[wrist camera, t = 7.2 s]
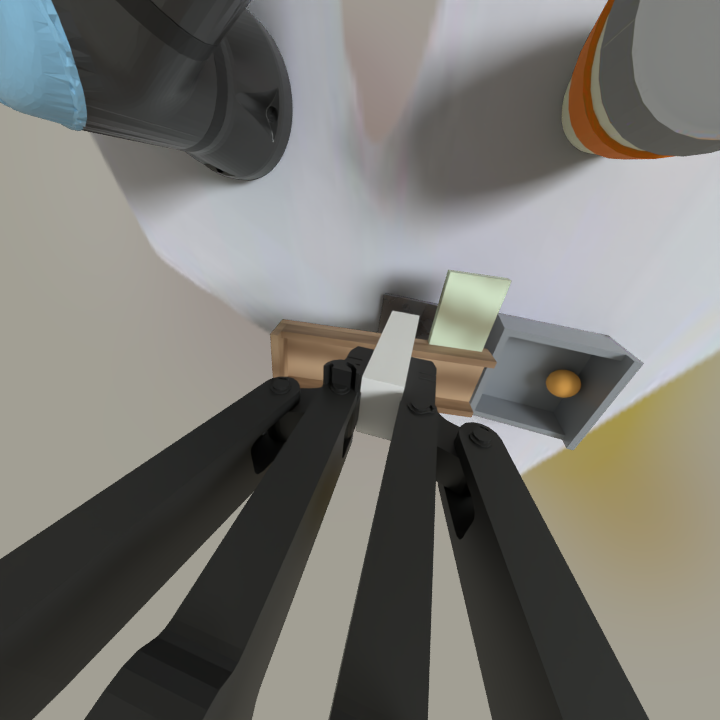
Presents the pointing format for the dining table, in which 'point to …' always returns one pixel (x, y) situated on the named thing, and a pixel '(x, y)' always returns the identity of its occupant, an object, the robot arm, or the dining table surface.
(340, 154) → the dining table surface
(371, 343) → the chute
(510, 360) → the grey tray
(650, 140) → the reusable coffee cup
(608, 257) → the dining table surface
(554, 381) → the ball
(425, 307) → the stand
